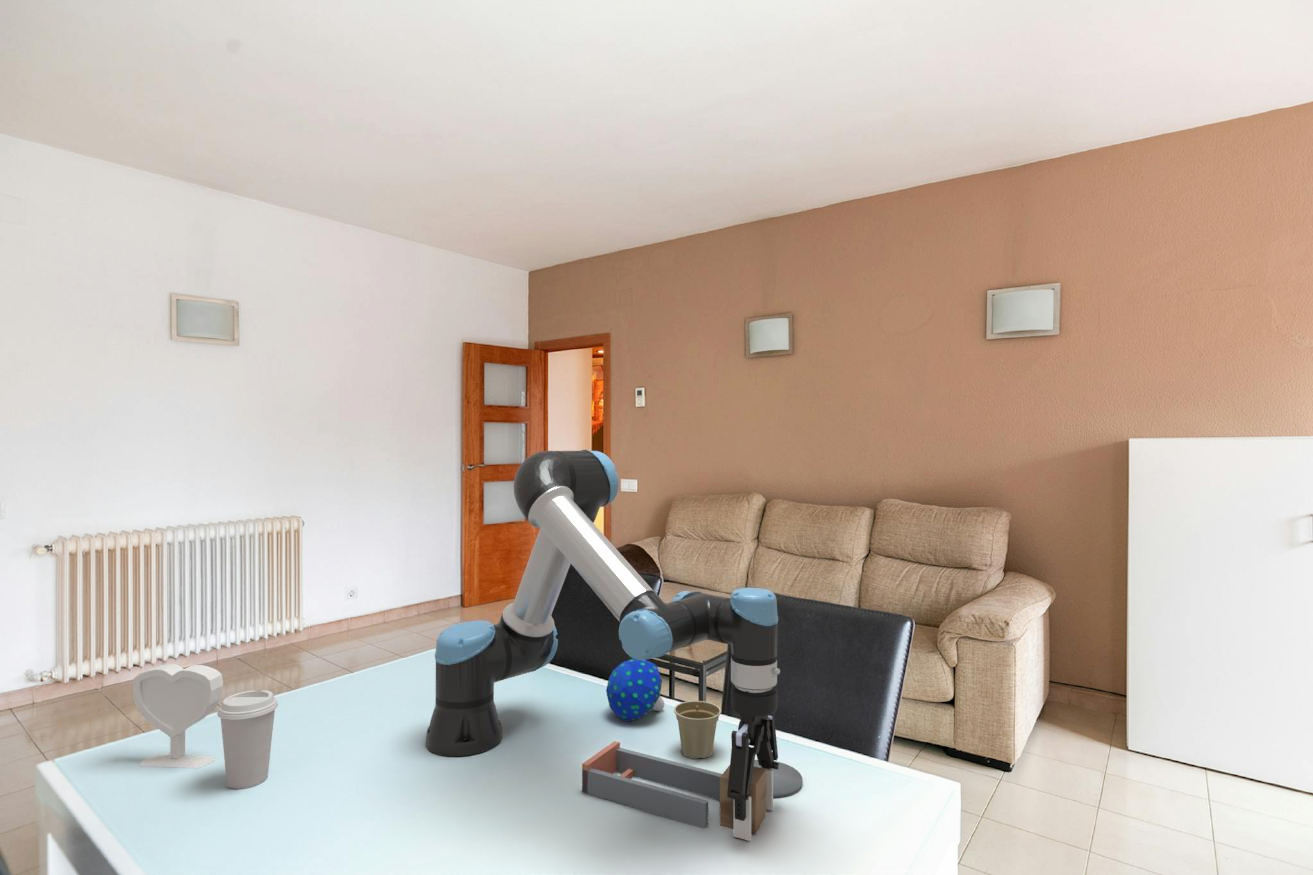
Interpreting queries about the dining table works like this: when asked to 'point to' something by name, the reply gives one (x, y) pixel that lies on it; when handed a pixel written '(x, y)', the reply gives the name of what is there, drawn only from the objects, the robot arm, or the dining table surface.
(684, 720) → the flower pot
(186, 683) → the heart sculpture
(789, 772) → the coaster
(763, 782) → the block
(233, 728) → the coffee cup
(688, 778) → the channel
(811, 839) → the dining table surface
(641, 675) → the mushroom
